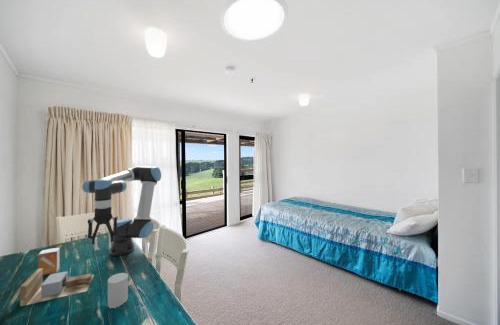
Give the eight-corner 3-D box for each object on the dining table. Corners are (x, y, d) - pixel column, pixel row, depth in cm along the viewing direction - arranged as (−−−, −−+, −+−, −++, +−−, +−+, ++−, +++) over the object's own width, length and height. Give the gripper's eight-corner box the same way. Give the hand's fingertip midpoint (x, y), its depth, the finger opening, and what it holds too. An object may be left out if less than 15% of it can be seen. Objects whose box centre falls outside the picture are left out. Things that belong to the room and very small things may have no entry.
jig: (94, 276, 116) (94, 259, 116) (86, 293, 102) (86, 273, 102) (37, 288, 105) (37, 269, 105) (20, 308, 91) (20, 286, 91)
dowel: (91, 280, 111) (91, 273, 111) (89, 284, 107) (89, 277, 107) (68, 285, 106) (68, 277, 106) (65, 289, 102) (65, 282, 102)
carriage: (67, 281, 108) (67, 271, 108) (60, 293, 99) (60, 281, 99) (50, 285, 105) (50, 274, 105) (41, 297, 96) (41, 285, 96)
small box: (38, 276, 115) (37, 254, 115) (41, 271, 120) (41, 250, 120) (57, 272, 119) (57, 251, 119) (59, 267, 125) (59, 246, 124)
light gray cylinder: (131, 298, 99) (131, 274, 98) (115, 310, 91) (116, 284, 91) (119, 294, 101) (119, 271, 101) (103, 305, 94) (103, 280, 93)
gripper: (123, 204, 118) (123, 242, 119) (83, 207, 110) (83, 248, 110) (122, 207, 111) (122, 248, 112) (79, 210, 103) (79, 254, 103)
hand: (103, 248), depth 111 cm, fingers open, 6 cm apart
